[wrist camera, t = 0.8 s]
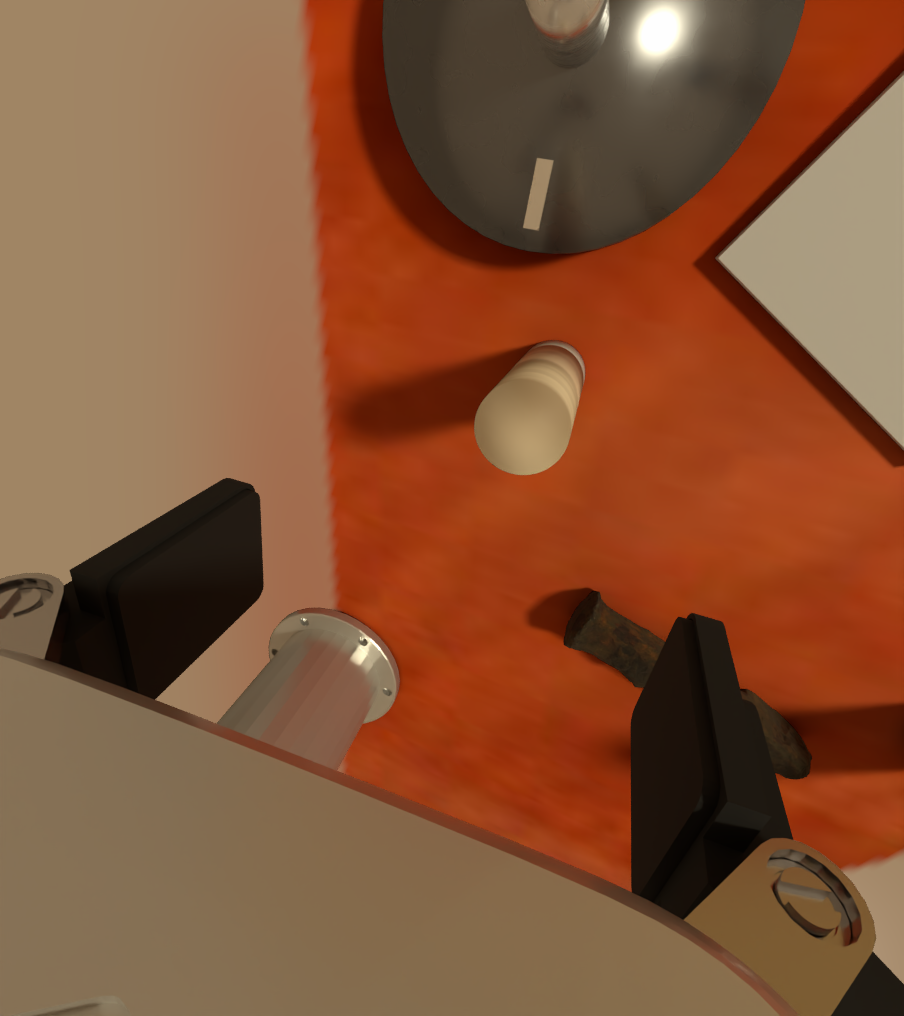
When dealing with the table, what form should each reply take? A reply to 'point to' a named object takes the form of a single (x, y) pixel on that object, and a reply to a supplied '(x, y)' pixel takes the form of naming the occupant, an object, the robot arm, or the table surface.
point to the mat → (840, 259)
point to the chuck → (578, 106)
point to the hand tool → (636, 658)
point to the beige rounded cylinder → (532, 410)
